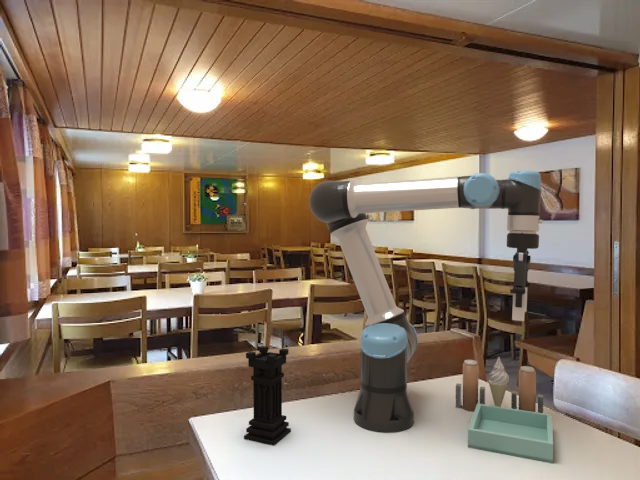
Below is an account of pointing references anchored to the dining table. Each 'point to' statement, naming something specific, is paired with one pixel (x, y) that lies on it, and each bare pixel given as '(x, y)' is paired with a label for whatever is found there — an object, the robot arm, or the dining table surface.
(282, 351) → the chess piece
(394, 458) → the dining table surface
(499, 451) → the tray
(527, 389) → the cylinder
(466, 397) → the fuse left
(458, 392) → the clip row
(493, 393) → the ice cream cone
